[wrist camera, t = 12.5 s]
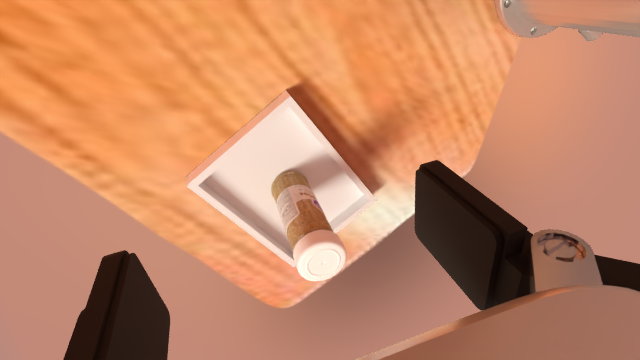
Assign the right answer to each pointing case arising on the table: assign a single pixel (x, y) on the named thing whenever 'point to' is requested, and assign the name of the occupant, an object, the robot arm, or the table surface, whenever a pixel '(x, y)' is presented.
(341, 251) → the sprinkles bottle
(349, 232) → the table surface
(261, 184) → the tray
